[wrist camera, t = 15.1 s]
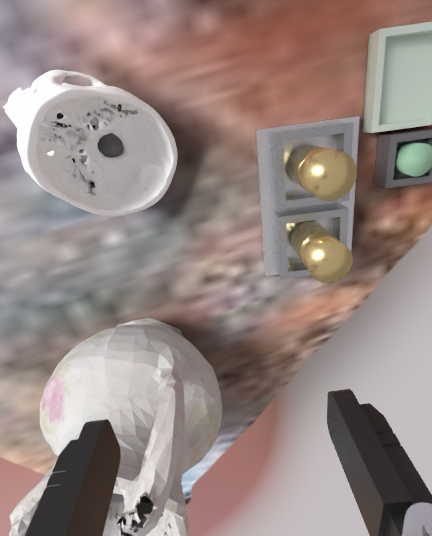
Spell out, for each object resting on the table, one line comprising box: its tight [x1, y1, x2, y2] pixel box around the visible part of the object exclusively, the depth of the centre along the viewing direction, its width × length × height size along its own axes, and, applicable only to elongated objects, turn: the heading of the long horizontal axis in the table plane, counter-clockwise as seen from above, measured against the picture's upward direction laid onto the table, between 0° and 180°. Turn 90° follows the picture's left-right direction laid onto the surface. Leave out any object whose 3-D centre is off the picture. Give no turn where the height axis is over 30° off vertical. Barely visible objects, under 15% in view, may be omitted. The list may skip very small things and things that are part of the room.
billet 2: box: [291, 222, 353, 283], centre depth 32 cm, size 4×4×7 cm
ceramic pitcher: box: [9, 318, 223, 536], centre depth 32 cm, size 22×20×25 cm
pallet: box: [255, 116, 360, 279], centre depth 33 cm, size 16×10×3 cm, turn 7°
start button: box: [394, 142, 432, 177], centre depth 31 cm, size 3×3×2 cm
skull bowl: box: [3, 70, 178, 216], centre depth 29 cm, size 10×14×12 cm
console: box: [374, 128, 432, 188], centre depth 32 cm, size 5×5×2 cm
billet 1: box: [288, 145, 357, 201], centre depth 29 cm, size 4×4×7 cm
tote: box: [362, 22, 432, 133], centre depth 29 cm, size 8×8×2 cm
